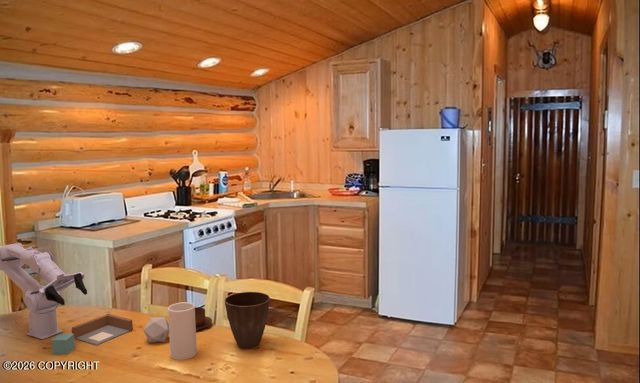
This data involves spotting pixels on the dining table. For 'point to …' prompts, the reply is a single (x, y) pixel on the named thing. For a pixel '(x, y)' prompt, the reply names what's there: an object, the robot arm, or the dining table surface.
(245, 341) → the plant pot
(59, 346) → the teal cube
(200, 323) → the cup and saucer
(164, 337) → the die
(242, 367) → the dining table surface
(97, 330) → the tray
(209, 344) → the dining table surface
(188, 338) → the cup
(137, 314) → the dining table surface
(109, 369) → the dining table surface
